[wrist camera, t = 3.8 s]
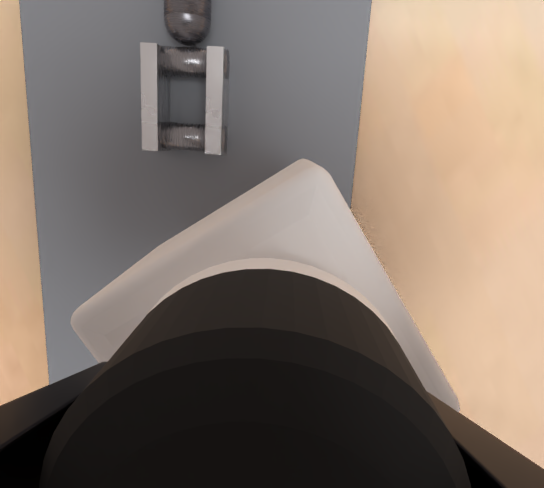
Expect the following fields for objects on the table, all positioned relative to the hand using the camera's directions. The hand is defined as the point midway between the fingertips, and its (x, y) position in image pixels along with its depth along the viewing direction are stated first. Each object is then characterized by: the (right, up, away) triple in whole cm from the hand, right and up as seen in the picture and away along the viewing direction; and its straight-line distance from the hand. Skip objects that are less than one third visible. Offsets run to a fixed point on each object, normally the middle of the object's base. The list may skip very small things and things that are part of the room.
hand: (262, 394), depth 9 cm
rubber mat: (-4, +3, +13) cm, 14 cm away
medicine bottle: (0, +2, +8) cm, 8 cm away
